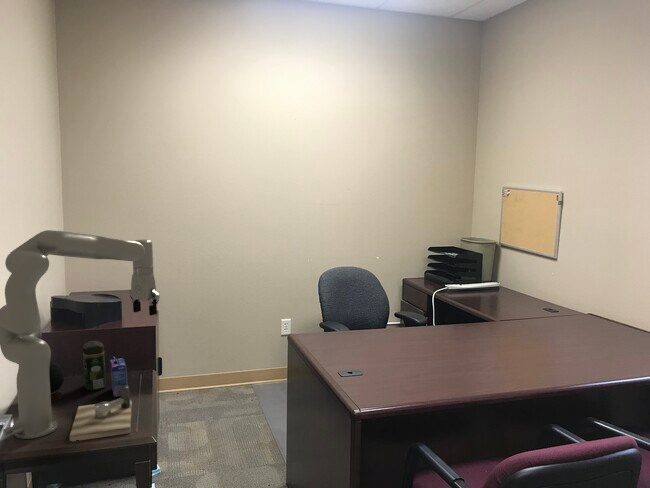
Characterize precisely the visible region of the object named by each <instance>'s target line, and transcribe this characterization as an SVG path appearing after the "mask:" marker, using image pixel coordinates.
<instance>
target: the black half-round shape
mask: <svg viewBox="0 0 650 488" xmlns="http://www.w3.org/2000/svg"><path fill="white" fill-rule="evenodd" d="M49 377H50V393H51V405H52V404H54V403H57V402H59V401H61V400H62V399H63V393H61V392H60V391H59V389H60V388H61V387H62V385H63V384H64V381H65V372H64V370H63V368H62V366H61V365H60V364H58V363H57V362H54V361H52V360H50V366H49Z"/></svg>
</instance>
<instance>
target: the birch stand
mask: <svg viewBox="0 0 650 488" xmlns="http://www.w3.org/2000/svg"><path fill="white" fill-rule="evenodd" d="M95 404H96V403H94V404H87V405H79V406H78V407H77V411H76V414H75V417H74V420H73V423H72V427H71V431H70V434H69V442H70V441H72V442H77V441H76V440H79V441H85V440H92V439H98V438H106V437H112V436H119V435H124V434H125V435H126V434H131V426H132V425H131V424H132V411H133V400H132V399H130V406H129V407H125V408H123V407H121V404H120V405H117V406H115V407H112V408H111V415H110V416H109V417H107V418H102V419H98V418H95Z"/></svg>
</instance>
